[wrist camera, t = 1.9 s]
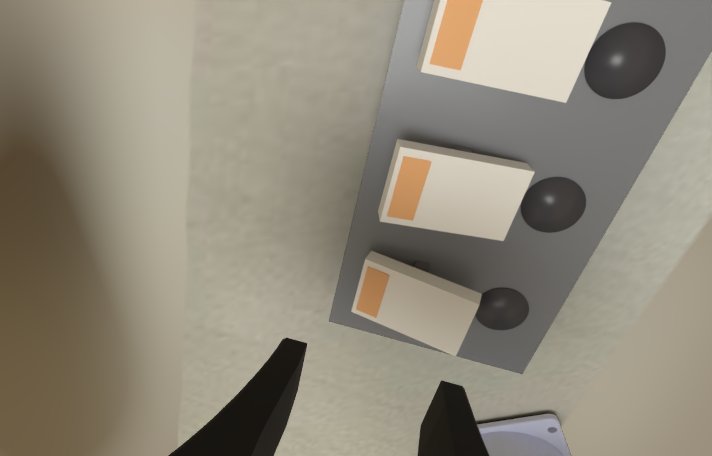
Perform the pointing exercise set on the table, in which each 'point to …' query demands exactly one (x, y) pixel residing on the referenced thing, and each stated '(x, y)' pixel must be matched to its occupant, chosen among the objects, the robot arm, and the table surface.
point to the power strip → (541, 152)
